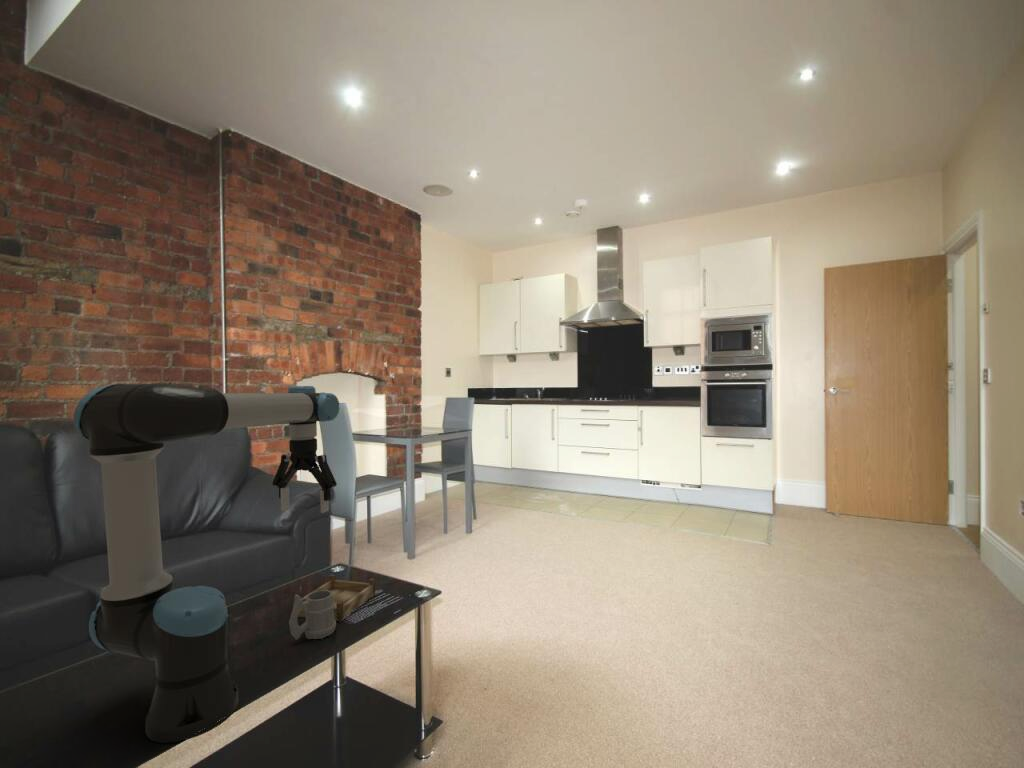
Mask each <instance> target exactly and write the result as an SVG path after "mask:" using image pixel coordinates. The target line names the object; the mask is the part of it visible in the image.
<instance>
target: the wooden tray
mask: <svg viewBox="0 0 1024 768" xmlns="http://www.w3.org/2000/svg"><path fill="white" fill-rule="evenodd" d="M319 590H329V591H331V592H332V593H333V602H334V606H335V607H334V620H335V621H337V620H339V621H341V620H342V619H343V618H344V617H346V616H347V615H348V614H349V613H351V612H352V611H353V610H355V609H356V608H357V607H359V606H360V605H361V604H363V603H364V602H365V601H367V600H368V599H369V598H371V597H372V596H373V595H375V596H376V579H375V578H370V579H369V580H368V582H364V581H363V582H362V581H351V580H345V579H344V580H343V579H336V574H330V575H329V580H328V581H327V582H326V583H323V584H322V585H321V586H319V587H318V588H316V589H314V590H313V591H311V592H310V593H312V592H315V591H319ZM310 593H308V594H307V595H309V594H310ZM307 595H305V596H304V597H301V599H302V601H303V602H304V601H306V597H307ZM371 599H372V598H371ZM292 601H293V602H292V603H293V605H294V603H295V596H294V597H293V598H292ZM298 618H305V619H306V613H305V607H303V608H302V609H301V611H300V613H299V615H298Z"/></svg>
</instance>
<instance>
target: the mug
mask: <svg viewBox="0 0 1024 768" xmlns="http://www.w3.org/2000/svg"><path fill="white" fill-rule="evenodd" d="M311 592H312V593H311ZM311 592H310V594H309V593H308V594H309V595H308V594H307V597H306V601H304V602H303V601H302V597H301V596H300V595H299V594H294V597H295V603H294V604H293V606H292V611H291V614H290V618H289V619H288V620H289V621H288V625H289V632H290V634H291V636H292V637H293V638H294V640H297V641H298V640H299V639H300V637H301V635H302V634H303V633H304V634H305V638H306V639H307V638H308V639H307V640H309V639H318V638H323V637H326V636H328V635H330V634H332V633H333V632H334V630H335V631H336V626H337V622H336V621H335V620H334V607H335V606H334V602H333V593H332V592H331V591H329V590H319V591H315V592H313V591H311ZM303 607H305V613H306V618H305V621H304V622H303V623H302V624H301V625H299V623H298V620H299V619H298V618H299V617H298V615H299V613H300V611H301V609H302V608H303ZM334 633H335V632H334ZM334 633H333V634H334ZM333 634H332V635H333Z"/></svg>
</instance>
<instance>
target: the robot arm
mask: <svg viewBox="0 0 1024 768" xmlns="http://www.w3.org/2000/svg"><path fill="white" fill-rule="evenodd" d="M287 390H288V391H287V392H267V393H266V392H244V393H243V392H241V393H240V392H238V393H237V392H233V393H232V392H231V393H230V392H229V393H228V392H224V393H223V392H222V391H221V390H219V389H217V388H209V387H206V388H204V387H193V386H184V385H177V384H169V383H115V384H109V385H108V384H107V385H103V386H98V387H96V388H94V389H92V390H90V391H89V392H87V393H86V394H85V395H84V396H83V397H82V398H80V400H79V401H78V403H77V404H76V407H75V408H74V412H73V420H72V421H73V426H74V429H75V430H76V432H77V433H78V435H80V436H82V438H83V439H84V440H87V441H89V442H88V443H89V455H90V458H92V459H94V460H96V461H97V462H98V463H100V464H101V465H100V466H101V477H102V479H101V480H102V491H103V493H102V494H103V505H104V506H103V507H104V508H103V509H104V522H105V534H106V535H105V536H106V549H107V562H108V563H107V564H108V577H109V583H108V584H107V586H105V588H104V589H103V590H102V591H101V592H100V600H99V602H98V603H97V604H96V605H95V606H96V608H95V610H94V611H93V610H92V612H91V615H90V618H89V623H88V632H89V636H90V639H91V640H92V642H93V643H94V645H96V646H97V647H98V648H100V649H102V650H104V651H106V652H108V653H111V654H115V655H121V656H124V655H125V656H129V657H135V658H139V659H144V660H148V661H149V660H150V661H154V662H155V663H154V664H155V689H154V693H153V696H152V699H151V702H150V703H151V704H150V707H149V710H148V711H147V713H146V716H145V722H144V723H145V735H146V737H147V738H148V739H149V740H150V741H153V742H155V743H162V744H168V743H169V744H172V743H179V742H183V741H182V740H184V741H187V740H190V739H193V738H196V737H199V736H201V735H204V734H206V733H208V732H210V731H212V730H213V729H216V728H217V727H219V726H220V725H221V724H223V723H225V721H226V722H227V720H229V718H230V717H231V716H232V715H233V714H234V713H235V711H236V710H237V708H238V705H239V688H238V687H237V684H236V682H235V679H234V678H233V674H232V672H231V671H230V668H229V666H228V610H227V606H226V599H225V598H226V597H225V596H224V595H225V594H223V592H222V591H220V590H219V589H218V588H215V587H211V586H207V585H196V586H191V585H190V586H185V587H180V588H176V589H174V582H173V576H172V575H171V574H170V573H168V572H166V571H164V567H163V566H164V565H163V564H164V563H163V553H162V552H163V550H162V536H161V535H162V534H161V523H160V521H161V520H160V519H161V518H160V508H159V507H160V505H159V493H158V492H159V491H158V489H159V488H158V478H157V463H156V458H157V456H158V455H159V453H161V452H162V451H163V450H164V448H165V444H164V443H171V442H175V441H182V440H187V439H192V438H193V439H194V438H199V437H204V436H205V437H206V436H214V435H217V434H220V433H222V431H224V430H227V429H236V428H237V429H238V428H250V427H258V426H274V425H282V424H283V425H284V424H288V438H290V440H288V441H289V444H288V445H289V452H290V453H285V454H282V455H281V457H280V462H279V465H278V468H277V471H276V473H275V476H274V478H273V481H272V486H275V487H277V488H278V499H280V511H283V512H284V511H286V510H289V509H290V486H289V485H288V484H289V482H290V481H291V480H292V478H293V477H294V476H295V474H296V473H297V471H307V472H309V473H311V476H313V477H314V479H315V480H316V481H317V483H318V484H319V486H320V487H321V488H322V489H321V490H320V491H319V493H320V494H319V495H320V496H319V497H320V513H321V514H324V513H326V512H329V511H330V505H329V502H330V500H331V495H332V493H331V489H332V488H335V487H336V486H337V485H338V484H337V482H336V479H335V477H334V475H333V472H332V470H331V468H330V466H329V463H328V459H327V455H326V454H322V455H321V454H320V455H317V451H318V439H317V438H316V437H317V436H318V435H317V431H318V429H317V427H318V426H317V422H322V423H325V422H331V421H333V420H335V419H336V418H337V416H338V415H339V413H340V401H339V399H338V397H337V396H336V395H335V394H334V393H332V392H316V388H315V387H314V385H291V386H289V387H288V389H287ZM290 462H291V464H290ZM224 717H225V718H224ZM222 718H223V719H222ZM220 719H221V720H220ZM219 720H220V721H219ZM217 721H218V722H217ZM204 728H205V729H204ZM202 729H203V730H202ZM200 730H201V731H200ZM198 731H200V732H198ZM195 733H196V734H195ZM186 738H187V739H186Z"/></svg>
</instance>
